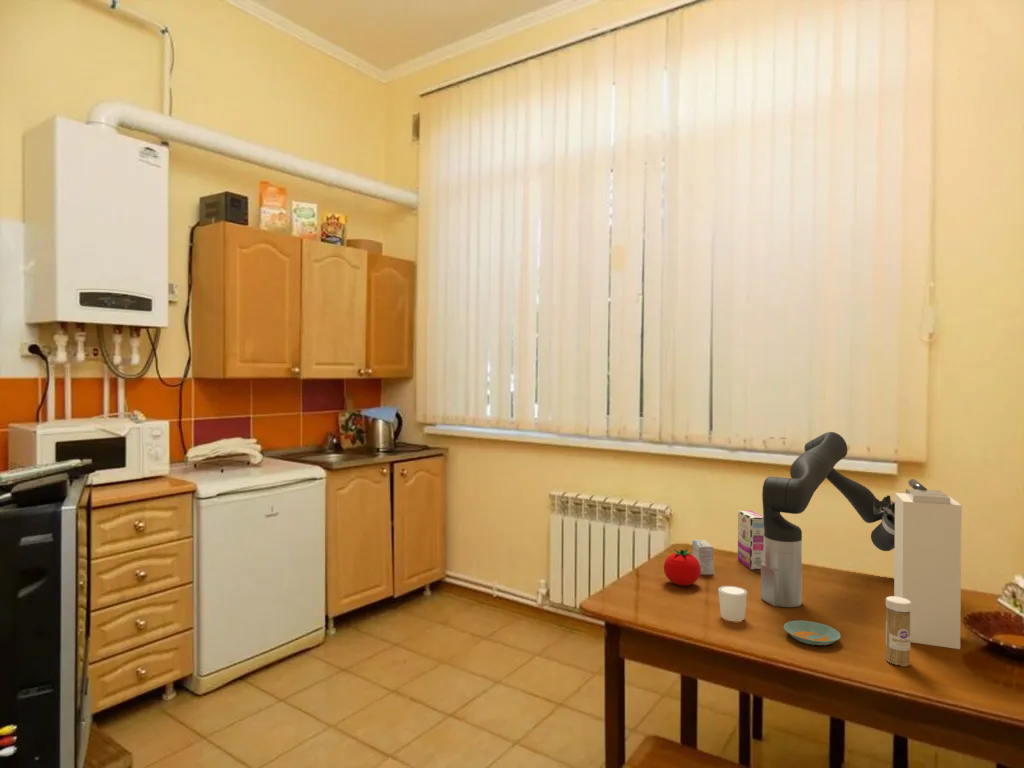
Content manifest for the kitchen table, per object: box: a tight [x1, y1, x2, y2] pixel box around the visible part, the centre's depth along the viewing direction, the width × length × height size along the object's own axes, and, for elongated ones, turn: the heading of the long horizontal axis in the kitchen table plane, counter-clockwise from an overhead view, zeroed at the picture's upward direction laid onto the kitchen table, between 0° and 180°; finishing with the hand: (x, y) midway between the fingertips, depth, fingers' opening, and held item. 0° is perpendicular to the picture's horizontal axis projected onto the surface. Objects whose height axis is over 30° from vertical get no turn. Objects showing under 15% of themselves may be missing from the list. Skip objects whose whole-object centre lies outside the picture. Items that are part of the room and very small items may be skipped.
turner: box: [905, 478, 951, 504], centre depth 149 cm, size 21×7×2 cm, turn 157°
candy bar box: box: [737, 510, 764, 571], centre depth 197 cm, size 11×5×16 cm, turn 1°
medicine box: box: [691, 539, 715, 576], centre depth 192 cm, size 8×4×9 cm, turn 179°
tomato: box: [663, 548, 701, 587], centre depth 179 cm, size 10×10×10 cm
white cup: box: [717, 585, 748, 622], centre depth 155 cm, size 7×7×7 cm
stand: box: [893, 492, 963, 650], centre depth 144 cm, size 11×11×32 cm
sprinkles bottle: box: [885, 595, 911, 667], centre depth 131 cm, size 5×5×14 cm
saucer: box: [783, 619, 842, 646], centre depth 143 cm, size 12×12×2 cm
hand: (907, 500), depth 165 cm, fingers open, 8 cm apart
